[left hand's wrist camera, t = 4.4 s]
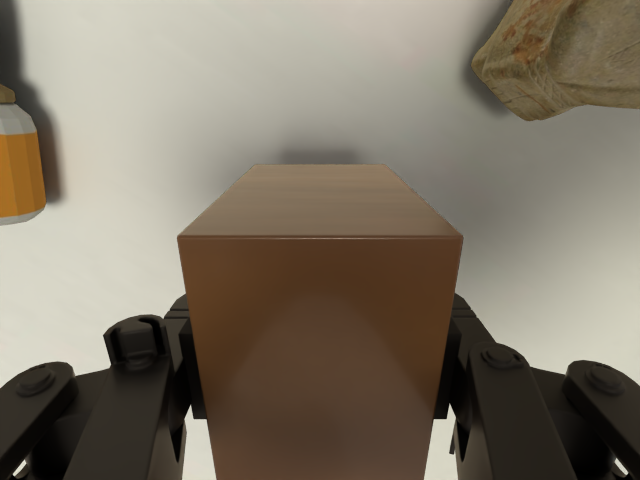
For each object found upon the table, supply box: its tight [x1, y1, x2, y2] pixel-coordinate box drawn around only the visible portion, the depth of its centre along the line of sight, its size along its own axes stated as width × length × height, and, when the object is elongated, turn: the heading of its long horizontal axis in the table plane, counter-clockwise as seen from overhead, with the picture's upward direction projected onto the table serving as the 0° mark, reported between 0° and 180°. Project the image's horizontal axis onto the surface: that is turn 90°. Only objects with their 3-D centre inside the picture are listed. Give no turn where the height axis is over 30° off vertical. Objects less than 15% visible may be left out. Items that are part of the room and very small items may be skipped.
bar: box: [177, 164, 463, 480], centre depth 14 cm, size 23×5×8 cm, turn 0°
